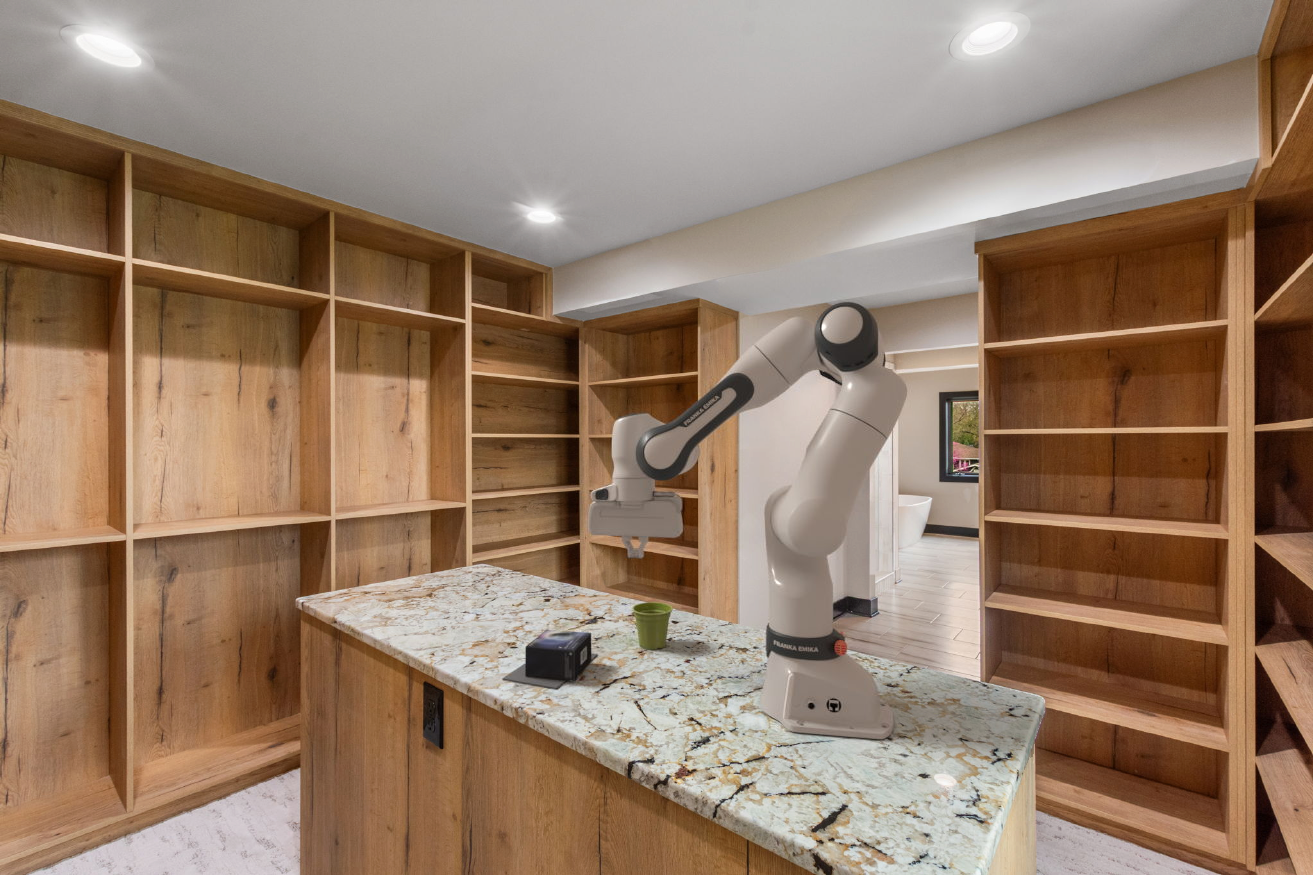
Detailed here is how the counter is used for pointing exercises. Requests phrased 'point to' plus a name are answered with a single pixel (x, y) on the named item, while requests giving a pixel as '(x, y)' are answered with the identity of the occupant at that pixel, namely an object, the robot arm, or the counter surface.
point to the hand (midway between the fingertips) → (635, 557)
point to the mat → (535, 678)
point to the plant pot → (652, 623)
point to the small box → (558, 655)
